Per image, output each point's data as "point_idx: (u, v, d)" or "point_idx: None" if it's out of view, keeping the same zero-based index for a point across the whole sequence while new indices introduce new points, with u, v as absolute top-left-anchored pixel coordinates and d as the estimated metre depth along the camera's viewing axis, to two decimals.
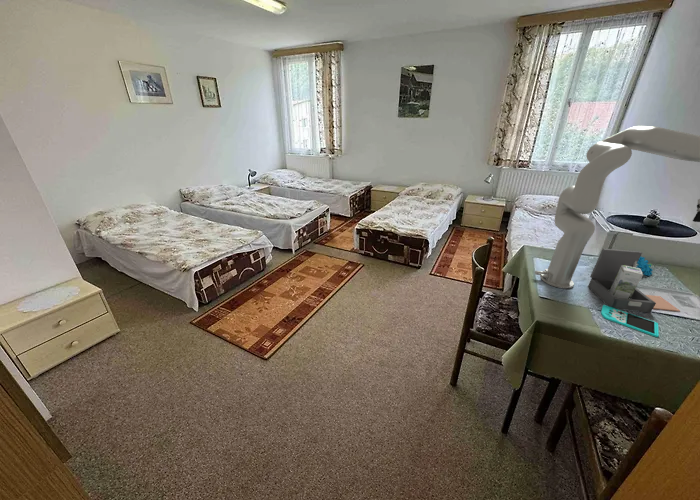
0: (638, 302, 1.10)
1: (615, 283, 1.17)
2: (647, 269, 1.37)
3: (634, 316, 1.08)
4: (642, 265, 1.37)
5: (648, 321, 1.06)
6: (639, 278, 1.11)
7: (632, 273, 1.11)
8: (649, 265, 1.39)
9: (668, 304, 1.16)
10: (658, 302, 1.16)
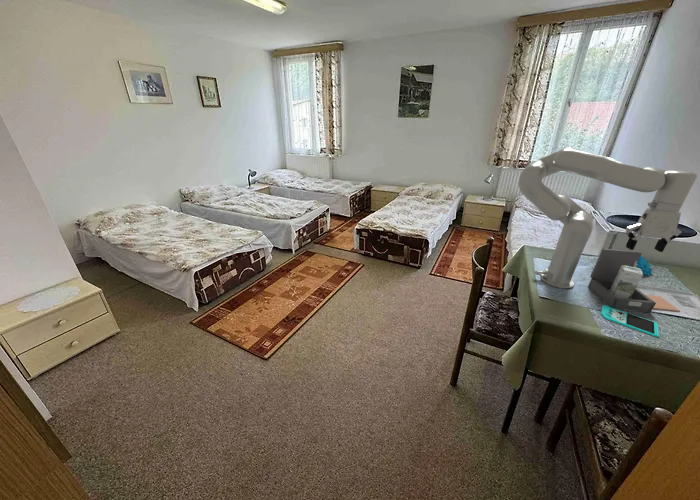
0: (638, 302, 1.10)
1: (615, 283, 1.17)
2: (646, 269, 1.38)
3: (634, 316, 1.08)
4: (641, 265, 1.38)
5: (648, 321, 1.06)
6: (639, 278, 1.11)
7: (632, 273, 1.11)
8: (649, 265, 1.39)
9: (668, 304, 1.16)
10: (658, 302, 1.16)
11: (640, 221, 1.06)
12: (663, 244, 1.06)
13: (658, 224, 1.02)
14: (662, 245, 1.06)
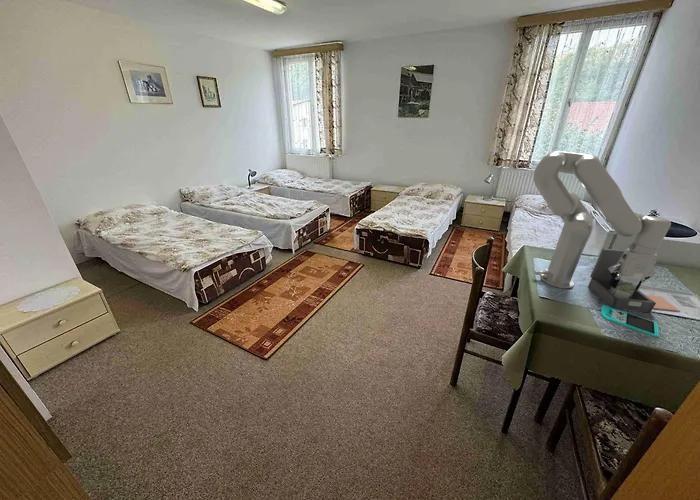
0: (638, 302, 1.10)
1: None
2: None
3: (634, 316, 1.08)
4: None
5: (648, 321, 1.06)
6: (639, 278, 1.11)
7: None
8: None
9: (668, 304, 1.16)
10: (658, 302, 1.16)
11: (620, 260, 1.13)
12: None
13: (636, 265, 1.10)
14: None
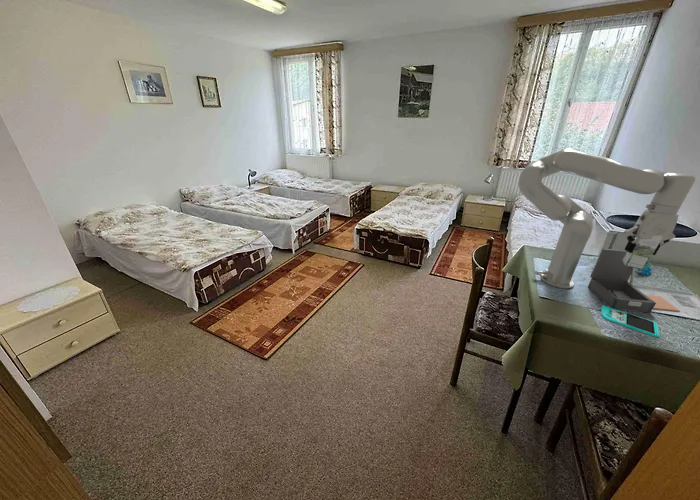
0: (638, 302, 1.10)
1: None
2: (645, 268, 1.38)
3: (633, 316, 1.08)
4: None
5: (647, 321, 1.06)
6: (658, 241, 1.04)
7: None
8: (648, 265, 1.40)
9: (668, 304, 1.16)
10: (658, 302, 1.16)
11: (638, 222, 1.06)
12: None
13: (655, 226, 1.03)
14: None
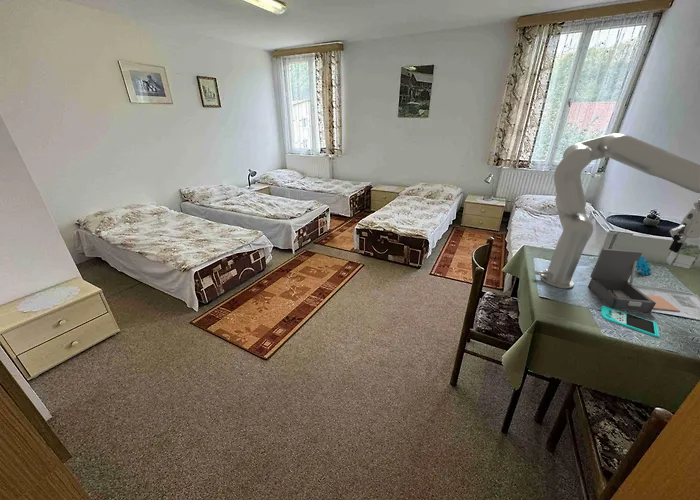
0: (638, 302, 1.10)
1: None
2: (645, 268, 1.38)
3: (633, 316, 1.08)
4: (639, 264, 1.38)
5: (647, 321, 1.06)
6: None
7: None
8: (648, 265, 1.40)
9: (668, 304, 1.16)
10: (658, 302, 1.16)
11: (685, 221, 1.03)
12: None
13: None
14: None
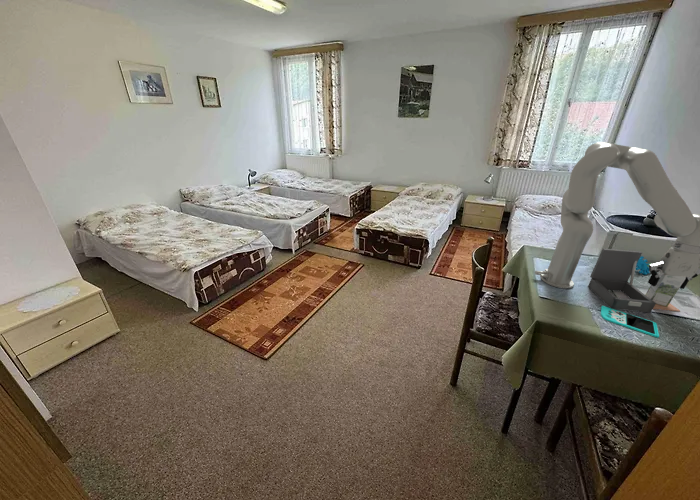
0: (638, 302, 1.10)
1: (655, 286, 1.15)
2: (644, 268, 1.39)
3: (633, 316, 1.08)
4: (638, 263, 1.39)
5: (647, 321, 1.06)
6: (682, 281, 1.08)
7: None
8: (648, 264, 1.40)
9: None
10: None
11: (663, 259, 1.10)
12: (684, 282, 1.11)
13: (681, 264, 1.07)
14: (683, 282, 1.11)
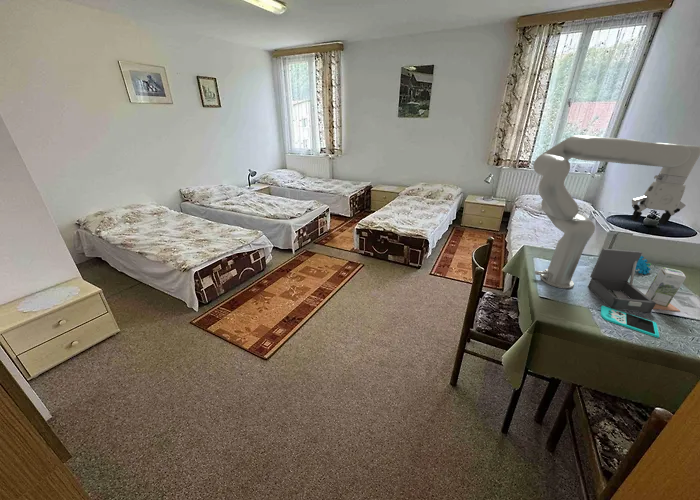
0: (638, 302, 1.10)
1: (654, 286, 1.15)
2: (643, 268, 1.39)
3: (633, 316, 1.08)
4: (638, 263, 1.39)
5: (647, 321, 1.06)
6: (682, 281, 1.08)
7: (674, 276, 1.09)
8: (647, 264, 1.40)
9: None
10: None
11: (646, 193, 1.11)
12: (667, 217, 1.12)
13: (663, 196, 1.08)
14: (666, 218, 1.12)
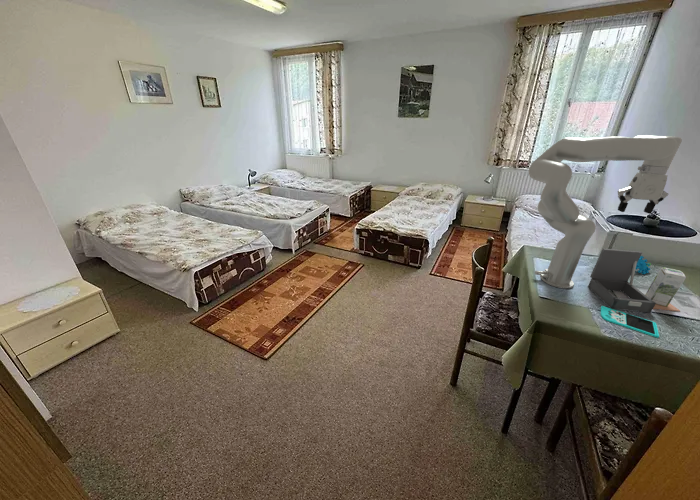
0: (638, 302, 1.10)
1: (654, 286, 1.15)
2: (643, 267, 1.39)
3: (632, 316, 1.08)
4: (637, 263, 1.39)
5: (646, 321, 1.06)
6: (682, 281, 1.08)
7: (674, 276, 1.09)
8: (647, 264, 1.40)
9: None
10: None
11: (631, 184, 1.15)
12: (651, 206, 1.16)
13: (647, 186, 1.12)
14: (650, 207, 1.16)
